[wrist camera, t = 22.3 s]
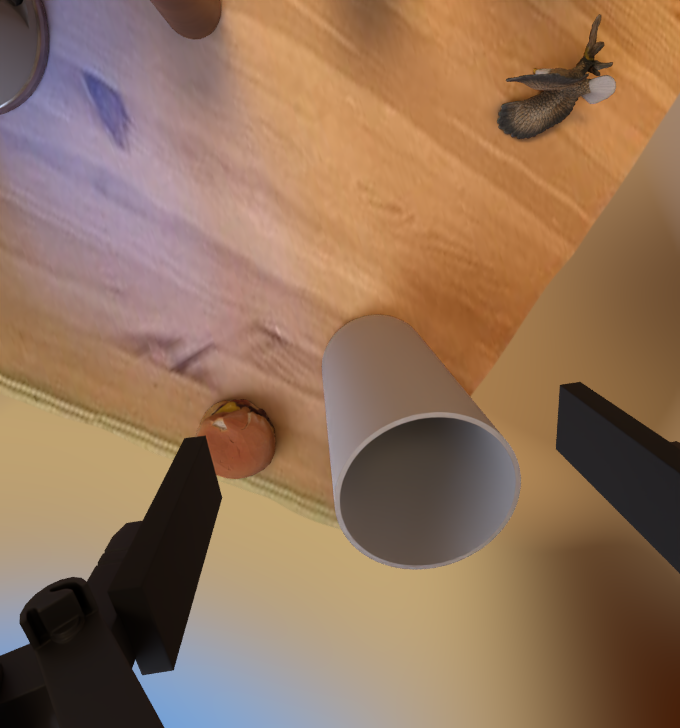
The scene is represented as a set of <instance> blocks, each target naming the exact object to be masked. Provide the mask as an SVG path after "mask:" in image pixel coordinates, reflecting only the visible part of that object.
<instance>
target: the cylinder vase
mask: <svg viewBox="0 0 680 728" xmlns="http://www.w3.org/2000/svg"><path fill="white" fill-rule="evenodd" d="M322 376H323V386H324V397H325V408H326V418H327V429H328V439H329V450H330V461H331V471H332V482H333V493H334V503H335V512H336V516H337V520H338V523H339V525H340V528H341V530H342V531H343V533H344V535H345V536H346V538H347V539H348V540H349V541H350V543H351V544H352V545H353V546H354V547H355V548H356V549H358V550H359V551H360V552H361V553H363V554H364V555H366V556H367V557H369V558H371V559H373V560H375V561H377V562H380V563H382V564H385V565H388V566H392V567H396V568H402V569H430V568H436V567H441V566H445V565H449V564H452V563H455V562H457V561H460V560H462V559H464V558H466V557H468V556H470V555H472V554H474V553H476V552H477V551H479V550H480V549H482V548H483V547H484V546H486V545H487V544H488V543H489V542H491V541H492V540H493V539H494V538H495V537H496V536H497V535H498V534H499V533H500V532H501V530H502V529H503V528H504V527H505V525H506V524H507V522H508V521H509V519H510V517H511V516H512V514H513V512H514V510H515V507H516V505H517V502H518V498H519V493H520V486H521V475H520V468H519V464H518V461H517V458H516V456H515V454H514V452H513V450H512V448H511V447H510V445H509V444H508V442H507V441H506V440H505V439H504V437H503V436H502V435H501V434H500V433H499V431H498V430H497V429H496V428H495V426H494V425H493V424H492V423H491V422H490V420H489V419H488V418H487V417H486V415H485V414H484V413H483V412H482V411H481V409H480V408H479V407H478V406H477V405H476V403H475V402H474V401H473V400H472V399H471V397H470V396H469V395H468V394H467V392H466V391H465V390H464V389H463V388H462V386H461V385H460V384H459V383H458V382H457V380H456V379H455V378H454V377H453V375H452V374H451V373H450V372H449V371H448V369H447V368H446V367H445V366H444V365H443V363H442V362H441V361H440V360H439V359H438V357H437V356H436V355H435V354H434V352H433V351H432V350H431V349H430V348H429V346H428V345H427V344H426V343H425V342H424V340H423V339H422V338H421V337H420V335H419V334H418V333H417V332H416V331H415V330H414V329H413V328H412V327H411V326H410V325H408V324H407V323H405V322H404V321H402V320H400V319H397V318H395V317H391V316H387V315H368V316H363V317H360V318H357V319H355V320H353V321H351V322H349V323H347V324H346V325H344V326H343V327H342V328H340V329H339V330H338V331H337V332H336V333H335V334H334V336H333V337H332V338H331V340H330V341H329V343H328V345H327V347H326V349H325V352H324V355H323V360H322Z"/></svg>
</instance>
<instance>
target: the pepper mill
mask: <svg viewBox="0 0 680 728" xmlns="http://www.w3.org/2000/svg"><path fill="white" fill-rule="evenodd" d="M150 1H151V2H152V3H153V5H154V6H155V7H156V8H157V10H158V11H159V12H160V13H161V15H162V16H163V17H164V18H165V20H166V21H167V22H168V23H169V25H170V26H171V27H172V28H173V29H174V30H175V31H176V32H177V33H178V34H180V35H182V36H183V37H186V38H189V39H201V38H204V37H206V36H208V35H209V34H211V33H212V32H213V31H214V29H215V28H216V26H217V24H218V22H219V19H220V15H221V2H220V0H150Z"/></svg>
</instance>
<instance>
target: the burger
mask: <svg viewBox="0 0 680 728" xmlns="http://www.w3.org/2000/svg"><path fill="white" fill-rule="evenodd" d="M274 433H275V430H274V427H273V425H272V424H271V422H270V420H269V418H268V417H267V416H266V413H265V412H264V410H263V409H258V408H257V407H256V406H255V405H253V404H251V402H250V401H248V400H245V399H241V400H232V401H221V402H219V403H216V404H214V405H213V406H212V407H211V408H210V409H209V410H208V411H207V412H206V413H205V415H204V417H203V418H202V421H201V423H200V426H199V428H198V430H197V433H196V436H195V437H198V436H205V435H206V439H207V443H208V446H209V450H210V454H211V458H212V461H213V465H214V469H215V473H216V475H218V476H221V477H224V478H230V479H239V478H245V477H249V476H252V475H254V474H256V473H258V472H260V471H262V470H263V469H265V468H266V467H267V466H268V465H269V464H270V462H271V460H272V458H273V456H274V453H275V444H276V442H275V438H274V437H275V435H274Z"/></svg>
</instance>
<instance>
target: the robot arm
mask: <svg viewBox="0 0 680 728" xmlns="http://www.w3.org/2000/svg"><path fill="white" fill-rule="evenodd" d="M48 49H49V35H48V26H47V20H46V15H45V11H44V7H43V4H42V1H41V0H0V115H1V114H4V113H7V112H9V111H11V110H13V109H15V108H17V107H18V106H20V105H21V104H22V103H24V102H25V101H26V100H27V99H28V98H29V97H30V96H31V95H32V94H33V92H34V91H35V90H36V88H37V86H38V85H39V83H40V81H41V79H42V76H43V74H44V71H45V67H46V63H47V58H48ZM556 449H557V450H558V451H559V452H560V453H561V454H562V455H563V456H564V457H565V459H566V460H568V462H569V463H570V464H572V466H573V467H574V468H575V469H576V470H577V471H579V473H580V474H582V476H583V477H584V478H585V479H587V481H588V482H589V483H590V484H591V485H592V486H594V488H595V489H596V490H597V491H598V492H599V493H600V494H601V495H602V496H603V497H604V498H605V499H606V500H608V502H609V503H610V504H611V505H612V506H613V507H614V508H615V509H616V510H617V511H618V512H619V513H620V514H621V515H622V516H623V517H624V518H625V519H626V520H627V521H628V522H629V523H630V524H631V525H632V526H633V527H634V528H635V529H636V530H637V531H638V532H639V533H640V534H641V535H642V536H643V537H644V538H645V539H646V540H647V541H648V542H649V543H650V544H651V545H652V546H653V547H654V548H655V549H656V550H657V551H658V552H659V553H660V554H661V555H662V556H663V557H664V558H665V559H666V560H667V561H668V562H669V563H670V564H671V565H672V566H673V567H674V568H675V569H676V570H677V571H678V572H679V573H680V443H679V442H677V441H675V442H669V441H667V440H666V439H664V438H662V437H661V436H660V435H658V434H657V433H655V432H654V431H652V430H651V429H649V428H648V427H646V426H645V425H643V424H642V423H640V422H639V421H637V420H636V419H635V418H633V417H632V416H630V415H628V414H627V413H625V412H624V411H623V410H621V409H619V408H618V407H617V406H615V405H614V404H612V403H611V402H609V401H608V400H606V399H605V398H603V397H602V396H600V395H599V394H597V393H596V392H594V391H593V390H591V389H590V388H588V387H587V386H585V385H584V384H582V383H581V382H577V383H570V384H563V385H560V393H559V408H558V424H557V439H556ZM221 500H222V495H221V492H220V488H219V484H218V480H217V476H216V473H215V469H214V465H213V461H212V458H211V454H210V450H209V446H208V443H207V439H206V435H205V436H198V437H191V438H184V440H183V442H182V444H181V446H180V448H179V450H178V452H177V454H176V456H175V458H174V460H173V462H172V464H171V466H170V468H169V470H168V472H167V474H166V476H165V478H164V480H163V482H162V484H161V486H160V488H159V490H158V492H157V494H156V496H155V498H154V500H153V502H152V504H151V506H150V508H149V509H148V512H147V513H146V515H145V517H144V519H143V521H138V522H131V523H126V524H125V525H124V526H123V527H122V528H121V529H120V530H119V531H118V532H117V533H116V534H115V535H114V536H113V537H112V539H111V540H110V542H109V544H108V546H107V548H106V549H105V553H104V554H103V555H102V556H101V558H100V560H99V561H98V566H96V567H95V568H94V570H93V572H92V574H91V576H90V577H89V579H88V581H87V582H86V581H85V580H84V579H82V578H77V577H71V578H67V579H62V580H59V581H57V582H55V583H53V584H50V585H48V586H47V587H45V588H44V589H43V590H41V591H40V592H38V593H37V594H35V595H34V596H33V597H32V599H30V600H29V602H28V603H27V604H26V605H25V607H24V609H23V610H22V612H21V614H20V625H21V627H22V629H23V631H24V632H25V634H26V636H27V638H28V640H29V642H30V644H28V645H26V646H23V647H21V648H18V649H16V650H14V651H11V652H8V653H6V654H3V655H1V656H0V728H164V726H163V725H162V723H161V721H160V719H159V717H158V715H157V713H156V712H155V710H154V708H153V706H152V704H151V703H150V701H149V699H148V697H147V695H146V694H145V692H144V690H143V688H142V686H141V684H140V682H139V681H138V679H137V677H136V675H135V673H134V672H133V670H132V667H133V665H134V662H135V659H136V662H137V664H138V666H139V669H140V671H141V674H142V675H146V674H153V673H159V672H166V671H172V670H174V667H175V663H176V660H177V656H178V653H179V648H180V645H181V642H182V638H183V635H184V631H185V628H186V624H187V621H188V617H189V614H190V610H191V606H192V603H193V599H194V595H195V592H196V589H197V585H198V582H199V578H200V574H201V571H202V567H203V564H204V560H205V557H206V553H207V549H208V546H209V542H210V538H211V535H212V532H213V528H214V525H215V521H216V518H217V514H218V510H219V507H220V503H221Z"/></svg>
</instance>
